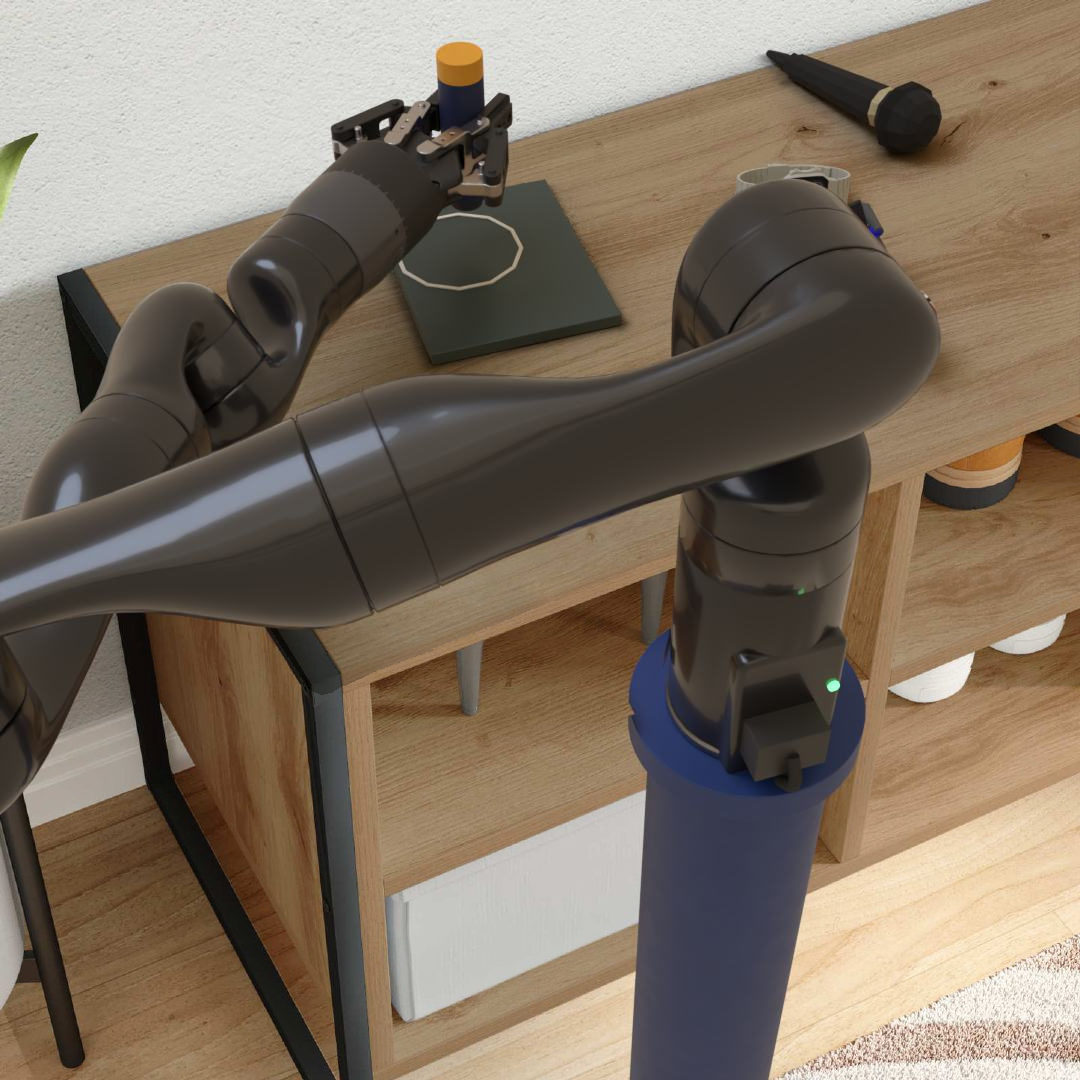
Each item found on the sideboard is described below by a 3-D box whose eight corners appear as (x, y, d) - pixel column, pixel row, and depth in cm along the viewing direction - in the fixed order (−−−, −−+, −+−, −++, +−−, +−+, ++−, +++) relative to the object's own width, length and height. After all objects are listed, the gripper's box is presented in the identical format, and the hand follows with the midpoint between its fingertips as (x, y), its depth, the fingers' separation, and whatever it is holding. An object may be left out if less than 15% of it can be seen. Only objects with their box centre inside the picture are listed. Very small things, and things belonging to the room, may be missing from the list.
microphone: (753, 97, 139) (911, 178, 126) (736, 43, 135) (898, 121, 122) (799, 62, 140) (961, 138, 127) (784, 7, 136) (950, 80, 122)
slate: (621, 325, 113) (621, 313, 112) (432, 365, 110) (431, 353, 109) (545, 189, 125) (545, 177, 124) (373, 222, 122) (371, 211, 121)
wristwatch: (746, 243, 119) (751, 187, 116) (720, 197, 124) (724, 142, 120) (860, 225, 121) (868, 169, 117) (830, 180, 125) (837, 125, 121)
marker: (493, 210, 115) (488, 60, 107) (451, 218, 115) (442, 68, 106) (481, 187, 117) (475, 38, 109) (440, 194, 117) (430, 45, 108)
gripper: (445, 203, 97) (570, 73, 108) (256, 147, 102) (394, 28, 112) (451, 300, 103) (570, 168, 113) (271, 243, 107) (401, 121, 118)
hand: (481, 99), depth 113 cm, fingers closed on marker, 3 cm apart
